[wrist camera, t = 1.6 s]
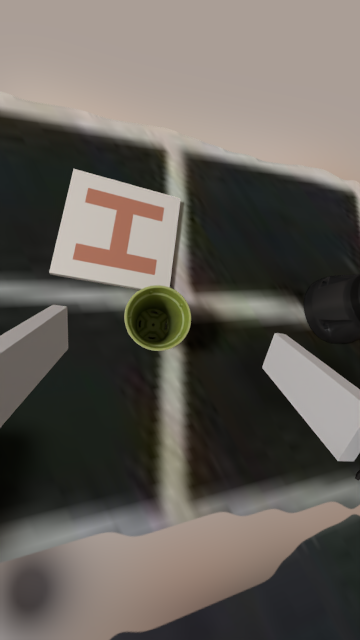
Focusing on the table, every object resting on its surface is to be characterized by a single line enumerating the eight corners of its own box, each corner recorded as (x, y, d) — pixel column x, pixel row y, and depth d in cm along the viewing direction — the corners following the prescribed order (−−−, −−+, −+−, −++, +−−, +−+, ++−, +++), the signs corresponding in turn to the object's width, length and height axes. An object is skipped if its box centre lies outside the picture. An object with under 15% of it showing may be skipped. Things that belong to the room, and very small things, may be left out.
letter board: (179, 202, 41) (180, 198, 41) (167, 294, 38) (168, 293, 37) (75, 173, 37) (73, 168, 36) (51, 274, 34) (49, 272, 33)
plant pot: (128, 297, 36) (126, 281, 28) (179, 301, 38) (192, 288, 30) (124, 349, 35) (121, 349, 27) (177, 351, 37) (190, 351, 29)
